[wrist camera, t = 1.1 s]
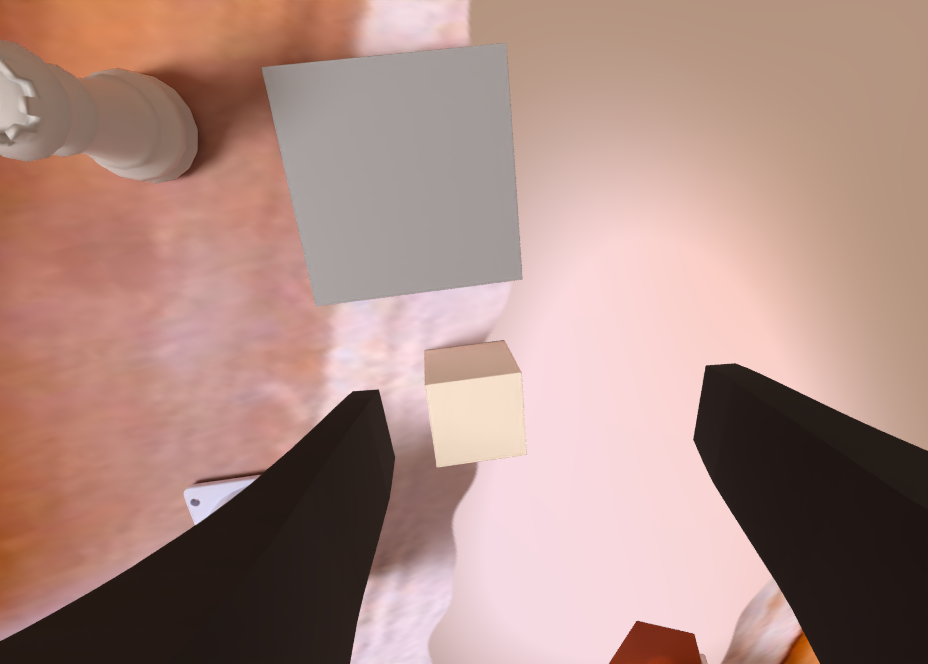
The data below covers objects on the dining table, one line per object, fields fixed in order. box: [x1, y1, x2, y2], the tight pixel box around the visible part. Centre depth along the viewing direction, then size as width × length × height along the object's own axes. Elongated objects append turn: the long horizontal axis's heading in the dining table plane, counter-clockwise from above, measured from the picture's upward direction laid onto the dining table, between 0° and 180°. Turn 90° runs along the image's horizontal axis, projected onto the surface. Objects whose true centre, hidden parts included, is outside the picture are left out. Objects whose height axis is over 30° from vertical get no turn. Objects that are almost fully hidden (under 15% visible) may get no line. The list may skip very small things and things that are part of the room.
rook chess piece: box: [0, 39, 198, 183], centre depth 16 cm, size 4×4×8 cm
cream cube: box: [424, 340, 527, 467], centre depth 23 cm, size 4×4×4 cm
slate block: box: [261, 43, 522, 306], centre depth 20 cm, size 10×10×2 cm
